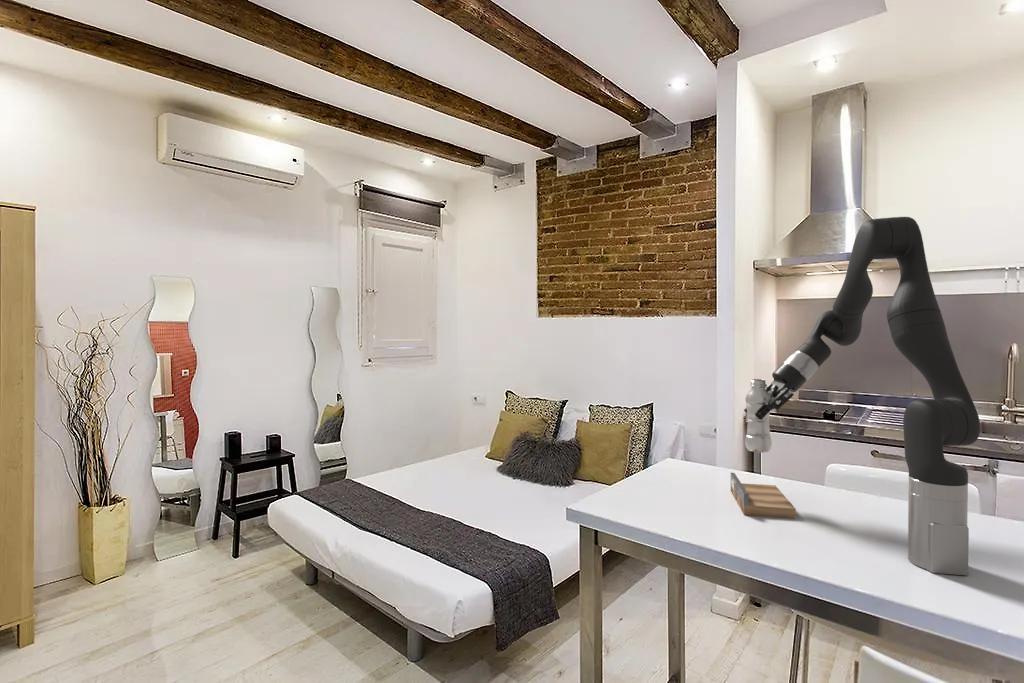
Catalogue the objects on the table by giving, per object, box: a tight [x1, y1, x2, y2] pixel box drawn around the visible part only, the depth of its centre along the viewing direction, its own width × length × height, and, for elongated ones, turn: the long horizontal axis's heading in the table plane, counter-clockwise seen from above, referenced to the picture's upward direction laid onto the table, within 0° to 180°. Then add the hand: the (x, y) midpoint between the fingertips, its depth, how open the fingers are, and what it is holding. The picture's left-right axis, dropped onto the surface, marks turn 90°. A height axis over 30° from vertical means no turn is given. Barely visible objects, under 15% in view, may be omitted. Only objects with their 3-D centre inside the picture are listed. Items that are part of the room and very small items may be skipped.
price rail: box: [730, 472, 748, 505], centre depth 144 cm, size 20×2×3 cm, turn 166°
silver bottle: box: [744, 378, 772, 454], centre depth 144 cm, size 6×7×20 cm
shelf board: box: [730, 482, 796, 519], centre depth 142 cm, size 20×12×2 cm, turn 166°
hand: (752, 415), depth 144 cm, fingers closed on silver bottle, 6 cm apart
